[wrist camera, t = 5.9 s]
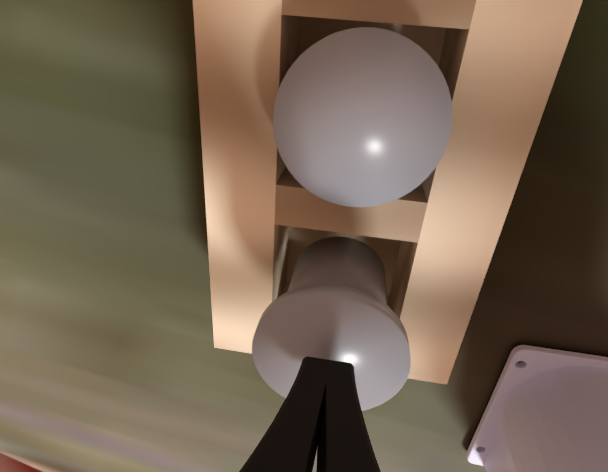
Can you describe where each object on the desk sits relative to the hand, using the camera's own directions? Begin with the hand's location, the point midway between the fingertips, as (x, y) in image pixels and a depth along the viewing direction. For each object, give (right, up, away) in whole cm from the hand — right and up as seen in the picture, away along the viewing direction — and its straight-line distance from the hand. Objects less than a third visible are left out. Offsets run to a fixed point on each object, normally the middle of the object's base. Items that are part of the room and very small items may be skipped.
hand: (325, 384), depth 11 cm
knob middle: (+2, +9, +3) cm, 10 cm away
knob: (+1, +3, +5) cm, 5 cm away
